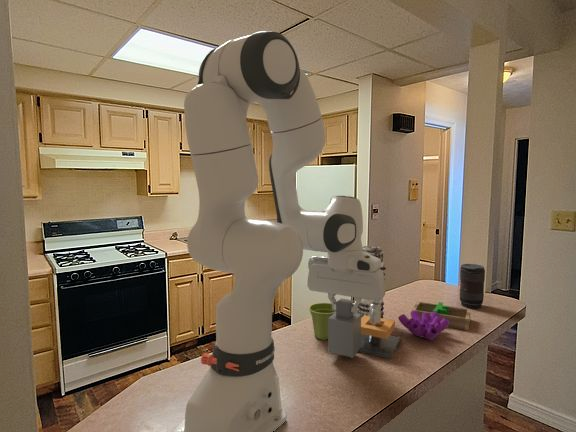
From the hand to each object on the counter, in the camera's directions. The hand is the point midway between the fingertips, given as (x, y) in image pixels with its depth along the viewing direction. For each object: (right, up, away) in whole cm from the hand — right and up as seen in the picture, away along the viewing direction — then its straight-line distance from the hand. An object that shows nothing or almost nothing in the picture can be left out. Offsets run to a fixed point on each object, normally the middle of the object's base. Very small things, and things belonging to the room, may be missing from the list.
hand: (344, 311), depth 95 cm
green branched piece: (+36, -10, +27) cm, 46 cm away
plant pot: (-4, -11, +15) cm, 19 cm away
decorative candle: (+12, -10, +25) cm, 30 cm away
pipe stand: (+10, -12, +8) cm, 17 cm away
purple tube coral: (+26, -11, +15) cm, 32 cm away
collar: (+10, -7, +8) cm, 14 cm away
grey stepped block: (0, -10, +1) cm, 10 cm away
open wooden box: (+36, -10, +27) cm, 46 cm away
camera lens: (+53, -9, +40) cm, 67 cm away
